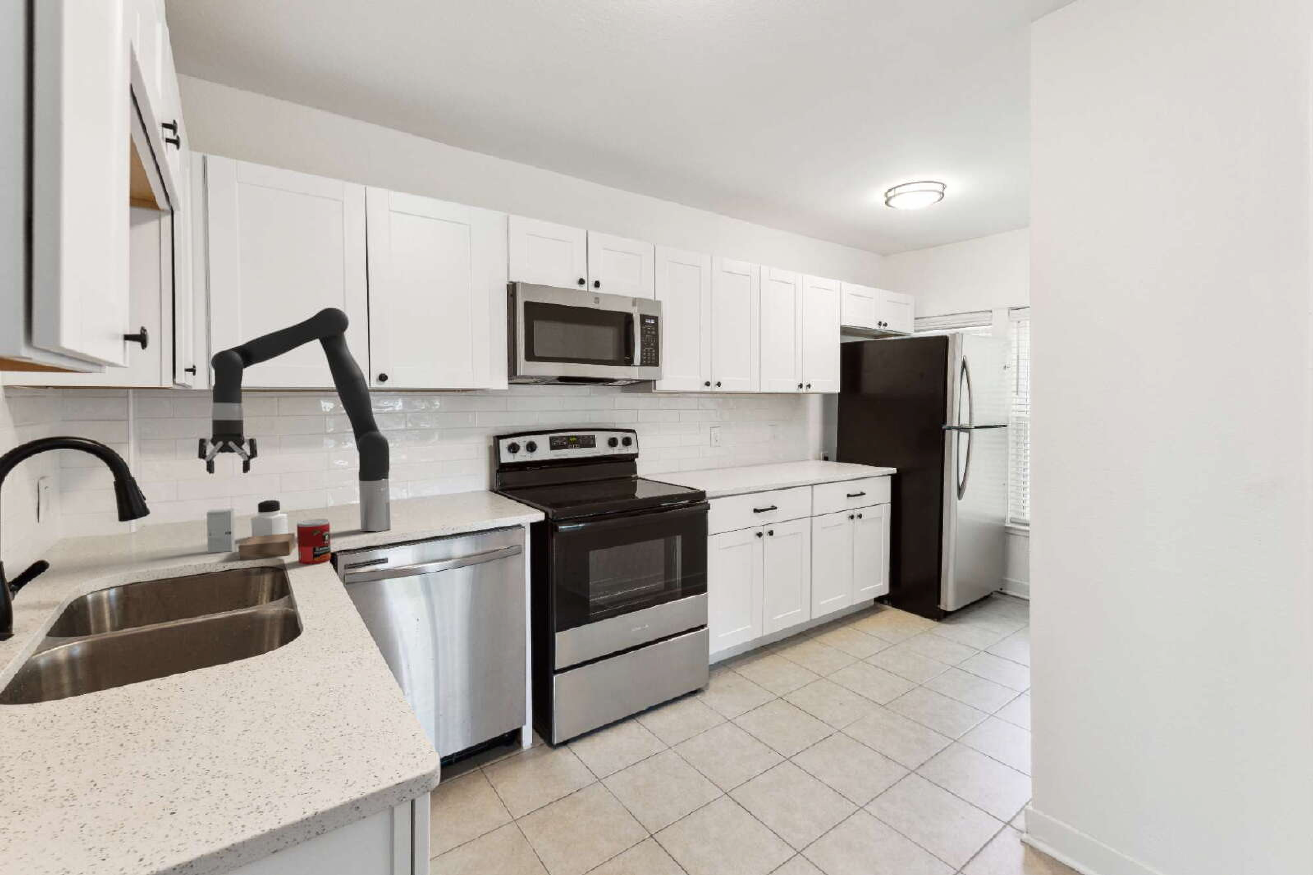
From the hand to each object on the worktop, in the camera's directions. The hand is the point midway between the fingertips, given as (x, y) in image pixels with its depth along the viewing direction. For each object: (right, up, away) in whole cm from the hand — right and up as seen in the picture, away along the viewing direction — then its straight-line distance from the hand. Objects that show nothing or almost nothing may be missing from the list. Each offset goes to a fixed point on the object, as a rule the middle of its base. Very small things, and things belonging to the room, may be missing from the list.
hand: (228, 473), depth 178 cm
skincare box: (-1, -23, -1) cm, 23 cm away
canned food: (+33, -24, -13) cm, 43 cm away
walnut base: (+14, -23, -3) cm, 27 cm away
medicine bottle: (+2, -22, +16) cm, 27 cm away
